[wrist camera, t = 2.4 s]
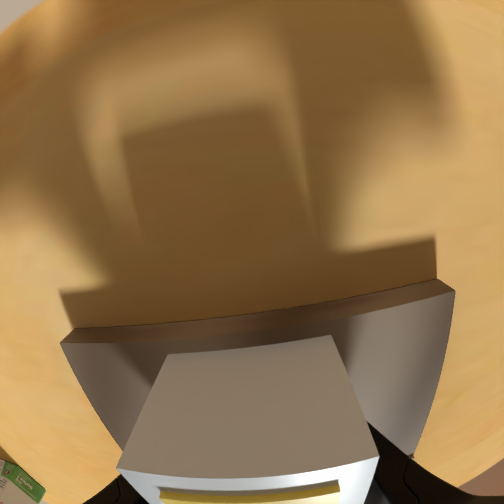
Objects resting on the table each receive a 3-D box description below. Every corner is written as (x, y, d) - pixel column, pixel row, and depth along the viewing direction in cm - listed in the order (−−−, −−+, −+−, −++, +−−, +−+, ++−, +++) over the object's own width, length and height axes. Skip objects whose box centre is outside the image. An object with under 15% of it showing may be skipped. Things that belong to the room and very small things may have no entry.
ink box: (18, 464, 15) (-20, 528, 4) (48, 491, 16) (17, 554, 5) (-7, 455, 16) (-40, 506, 5) (18, 479, 17) (-11, 530, 6)
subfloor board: (437, 278, 9) (458, 292, 7) (389, 482, 12) (394, 497, 11) (74, 328, 10) (57, 345, 8) (183, 504, 13) (180, 519, 12)
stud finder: (331, 334, 8) (382, 463, 3) (331, 448, 9) (350, 540, 5) (168, 354, 8) (112, 474, 4) (213, 460, 10) (200, 550, 5)
